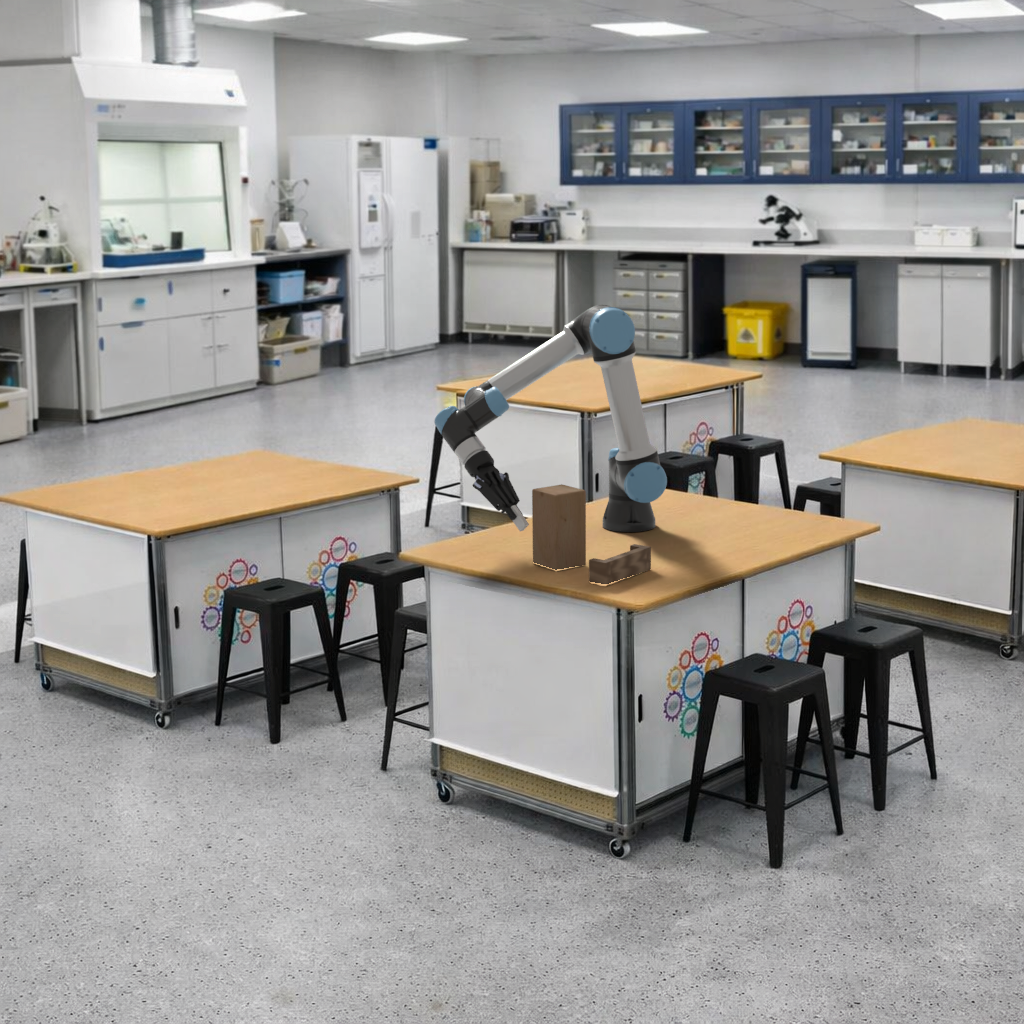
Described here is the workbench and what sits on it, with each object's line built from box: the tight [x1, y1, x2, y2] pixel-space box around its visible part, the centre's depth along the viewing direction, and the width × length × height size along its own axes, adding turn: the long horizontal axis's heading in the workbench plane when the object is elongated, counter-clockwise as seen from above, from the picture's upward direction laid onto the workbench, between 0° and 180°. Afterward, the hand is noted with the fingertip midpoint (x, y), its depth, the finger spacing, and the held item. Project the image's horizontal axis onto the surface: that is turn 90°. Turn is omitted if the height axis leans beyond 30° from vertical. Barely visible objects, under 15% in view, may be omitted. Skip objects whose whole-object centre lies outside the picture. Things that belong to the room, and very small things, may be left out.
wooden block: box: [531, 483, 587, 570], centre depth 369 cm, size 10×10×20 cm
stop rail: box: [588, 543, 652, 584], centre depth 359 cm, size 20×5×6 cm, turn 142°
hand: (524, 527), depth 376 cm, fingers closed
